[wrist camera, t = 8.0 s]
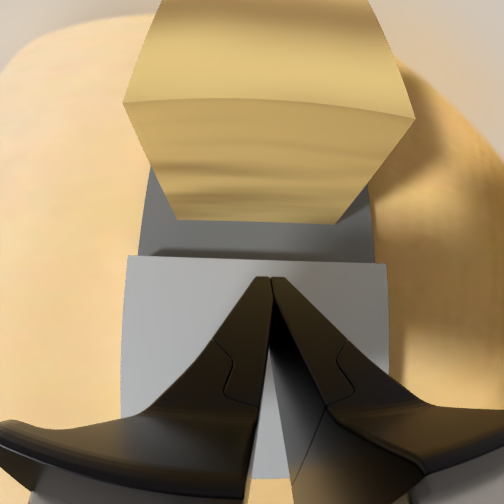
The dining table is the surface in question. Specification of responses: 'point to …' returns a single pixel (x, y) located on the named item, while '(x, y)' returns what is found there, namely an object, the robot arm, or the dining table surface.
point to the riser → (215, 312)
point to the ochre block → (266, 107)
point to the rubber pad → (255, 235)
